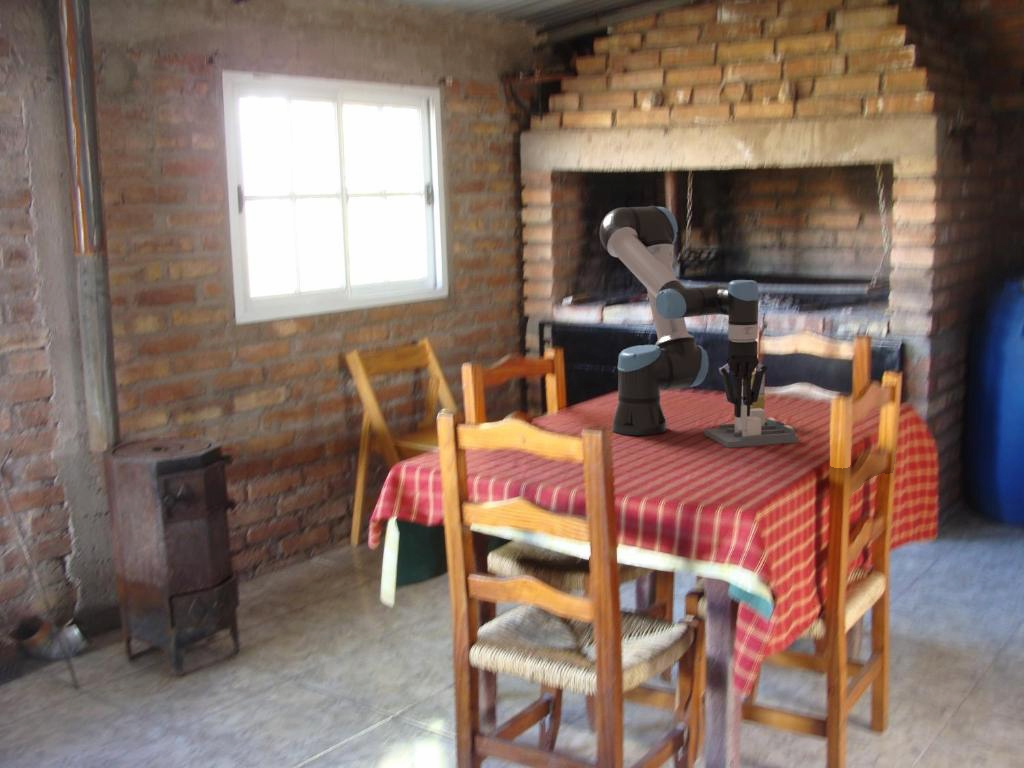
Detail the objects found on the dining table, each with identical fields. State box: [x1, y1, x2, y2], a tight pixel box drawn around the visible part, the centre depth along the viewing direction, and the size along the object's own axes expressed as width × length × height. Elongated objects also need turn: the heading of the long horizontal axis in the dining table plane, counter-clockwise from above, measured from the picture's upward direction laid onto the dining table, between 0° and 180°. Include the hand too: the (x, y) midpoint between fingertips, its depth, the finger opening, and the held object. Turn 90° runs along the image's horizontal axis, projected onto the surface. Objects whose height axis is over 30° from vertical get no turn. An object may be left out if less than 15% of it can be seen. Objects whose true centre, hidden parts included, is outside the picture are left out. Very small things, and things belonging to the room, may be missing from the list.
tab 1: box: [734, 414, 753, 432], centre depth 295 cm, size 4×3×5 cm
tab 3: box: [742, 417, 761, 436], centre depth 290 cm, size 4×3×5 cm
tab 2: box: [750, 408, 766, 426], centre depth 301 cm, size 4×3×5 cm
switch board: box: [704, 417, 800, 449], centre depth 295 cm, size 20×16×4 cm
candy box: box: [742, 369, 766, 410], centre depth 313 cm, size 9×4×15 cm, turn 17°
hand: (742, 428), depth 289 cm, fingers closed
